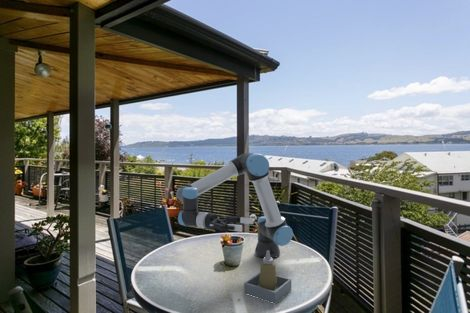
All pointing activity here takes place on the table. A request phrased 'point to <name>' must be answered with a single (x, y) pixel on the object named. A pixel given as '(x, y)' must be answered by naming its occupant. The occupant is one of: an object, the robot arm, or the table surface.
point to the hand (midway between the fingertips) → (247, 224)
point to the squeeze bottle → (268, 273)
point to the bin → (274, 296)
